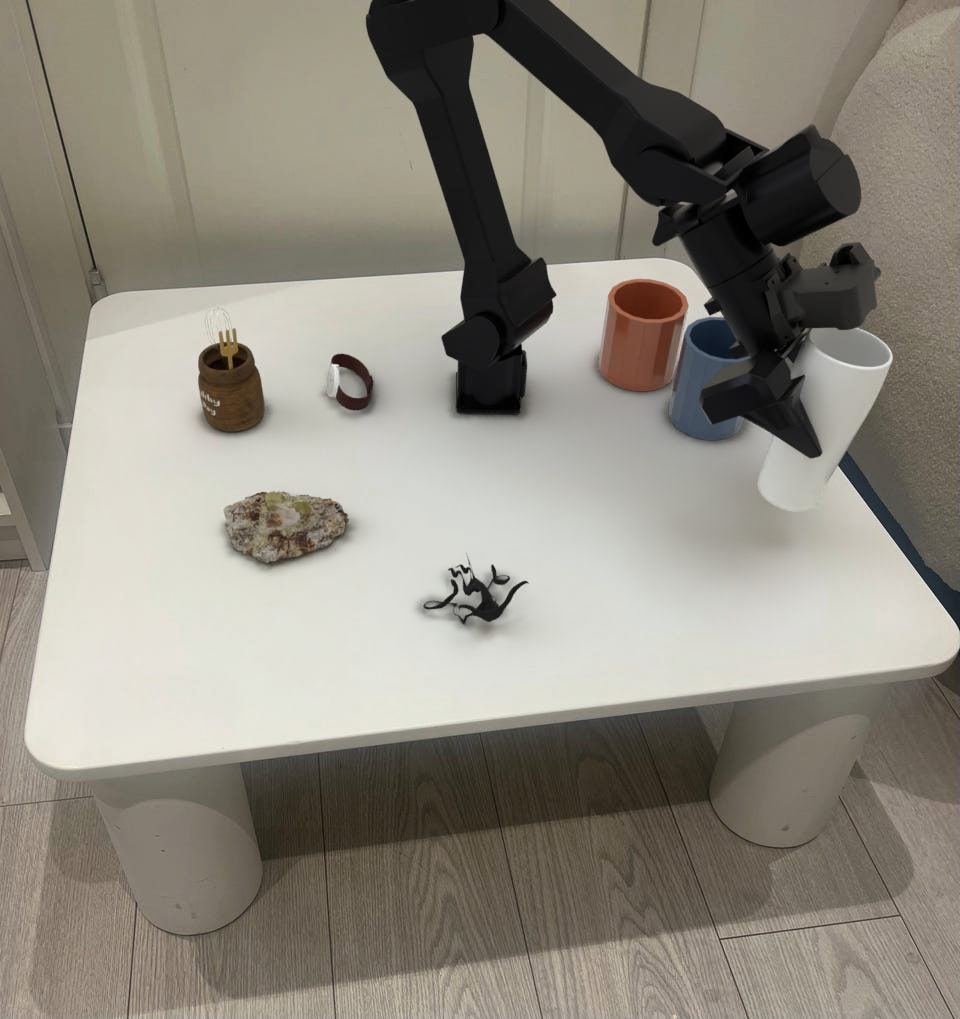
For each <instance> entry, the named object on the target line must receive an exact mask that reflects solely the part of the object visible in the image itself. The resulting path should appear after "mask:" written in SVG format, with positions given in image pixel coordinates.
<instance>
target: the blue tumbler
mask: <svg viewBox="0 0 960 1019" xmlns="http://www.w3.org/2000/svg"><path fill="white" fill-rule="evenodd" d="M736 341H737V340H736V338H735V336H734V334H733V333H732V331H731V329H730V327H729V326H728V324H727V322H726V320H725V319H724V317H723V316H707V317H703V318H699V319H696V320H694V321H692V322H691V323H690V324H688V325H687V326H686V329H685V331H684V332H683V337H682V342H681V346H680V351H679V356H678V361H677V365H676V370H675V375H674V380H673V381H674V382H673V384H672V385H673V386H672V391H671V395H670V399H669V404H668V417H669V420H670V422H671V423H672V425H674V427H676V429H678V430H679V431H680V432H682V433H683V434H685V435H688V436H689V437H692V438H695V439H699V440H705V441H720V440H727V439H729V438H731V437H733V436H735V435H736V434H737V433H738V432H739V431H740V430H741V428H742V425H743V422H744V420H745V419H744V418H742V417H740V416H738V417H735V418H732V419H729V420H726V421H723V422H720V423H717V424H714V425H712V424H710V422H709V421H708V419H707V417H706V416H705V414H704V412H703V411H702V409H701V407H700V405H699V404H698V402H699V398H700V394H701V390H702V389H703V388H704V387H705V386H706V385H707V384H708V382H709V381H710V380H711V379H712V378H713V377H714V376H715V375H716V374H717V373H718V372H719V371H720V370H721V369H723V368H725V367H728V366H731V365H733V364H736V363H739V362H741V361H744V360H746V359H749V358H750V356H749V355H746V356H744V357H741V358H739V359H736V360H735V359H734V357H733V356H732V354H731V352H730V350H729V349H730V348H731V347H732V345H733V344H734V343H735V342H736Z"/></svg>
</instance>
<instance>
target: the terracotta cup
mask: <svg viewBox="0 0 960 1019" xmlns="http://www.w3.org/2000/svg"><path fill="white" fill-rule="evenodd" d="M605 307H606V308H605V312H604V313H605V314H604V321H603V327H602V334H601V340H600V348H599V356H598V370H599V372H600V374H601V375H602V377H603V378H604V379H605V380H606V381H607V382H609V383H611V384H612V385H614V386H615V387H618V388H620V389H623V390H628V391H632V392H651V391H656V390H659V389H661V388H664V387H665V386H667V385H668V384H669V383H671V381H672V379H673V378H674V376H675V372H676V369H677V365H678V360H679V355H680V350H681V346H682V341H683V336H684V330H685V325H686V320H687V316H688V310H689V307H690V306H689V302H688V299H687V296H686V295H685V294H684V293H683V292H682V291H681V290H680V289H679V288H677V287H675V286H673V285H672V284H669V283H667V282H665V281H664V282H663V281H659V280H655V279H651V278H633V279H628V280H624V281H621V282H619V283H617V284H616V285H614V286H612V287H611V289H610V291H609V293H608V295H607V300H606V306H605Z"/></svg>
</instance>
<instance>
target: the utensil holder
mask: <svg viewBox="0 0 960 1019" xmlns="http://www.w3.org/2000/svg"><path fill="white" fill-rule="evenodd" d="M217 310H218V311H220V312H221V313H222V315H223V319H224V324H225V325H228V328H227V326H225V328H226V330H225V339H226V341H225V339H224V334H223V329H222V325H221V324H219V327H220V330H219V329H218V328H216V330H217V335H218V339H219V342H216V341H215V340H216V339H215V338H214V333H213V328H212V326H209V325H207V324H209V323H210V325H212V315H213V316H214V321H215V325H216V327H218V324H217V320H216V316H217V318H218V322H219V323H221V320H220V317H219V315H218V311H217ZM215 311H216V315H215V313H214V312H215ZM210 312H211V313H210ZM224 312H225V313H224ZM209 313H210V314H211V315H210V318H209V321H208V319H207V317H208V314H209ZM226 314H227V315H228V318H227V316H226ZM228 319H229V320H228ZM226 321H227V323H226ZM231 322H232V321H231V318H230V315H229V313H228V312H227V310H225V309H224V308H220V307H212V308H209V310H208V311H207V312H206V315H205V319H204V324H205V326H207V327H208V328H207V327H205V330H206V331H209V333H208V332H206V334H207V337H208V340H209V342H210V343H211V344H210V345H209V346H207V347H206V348H204V349H203V350H202V351H201V352H200V354H199V356H198V359H197V368H198V371H199V373H198V378H197V385H198V392H199V396H200V397H199V398H200V402H201V405H202V406H201V407H202V411H203V414H204V418H205V419H206V421H207V423H208V424H209V425H210V426H212V428H215V429H217V430H219V431H223V432H241V431H244V430H248V429H250V428H252V427H254V426H255V425H257V424H258V423H259V422H260V421H261V420H262V419H263V417H264V414H265V398H264V391H263V385H262V384H263V383H262V378H261V375H260V374H261V373H260V371H259V369H258V367H257V366H256V359H255V356H254V354H253V352H252V350H251V349H250V348H249V347H248V346H247V345H245V344H243V343H241V342H238V338H237V336H238V335H237V329H236V328H235V327H234V328H233V327H232V323H231ZM229 323H230V324H229ZM210 328H211V330H210ZM209 335H210V337H211V339H210V337H209ZM213 343H214V344H213Z"/></svg>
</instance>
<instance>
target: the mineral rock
mask: <svg viewBox="0 0 960 1019" xmlns="http://www.w3.org/2000/svg"><path fill="white" fill-rule="evenodd" d="M223 514H224V517H225V519H226V521H225V524H224V525H225V532H227V535H228V538H229V539H230V541H231V545H232V547H233V548H234V549H236V550H237V551H238V552H240V551H242V552H243V554H245V555H247V556H248V555H249V556H251V557H254V558H255V559H257V560H259V561H260V562H262V563H267V564H270V562H276V561H278V560H282V559H285V558H286V559H287V558H290V559H291V558H296V557H299V556H302V555H303V554H308V553H310V552H314V551H316V550H318V549H320V548H322V549H323V548H327V547H328V546H329V545H330V544H332V543H333V540H334V538H335V537H337V536H339V535H342V534H344V531H345V528H346V527H347V524H348V523H349V520H350V518H348V516H349V514H348V513H347V512H345V511H344V508H343V506H342V505H341V503H339V502H338V501H336V500H333V499H332V498H331V497H330V498H322V497H320V496H311V495H309V494H296V495H295V496H293V495H291V494H290V493H289V492H286V491H280V490H278V491H274V490H273V491H269V492H267V491H261V492H257V493H255V494H253V495H250V496H246V497H245V498H244V499H243V500H239V501H237V502H234V503H233V504H232V505H231V504H229V505H227V506H224V508H223Z"/></svg>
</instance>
